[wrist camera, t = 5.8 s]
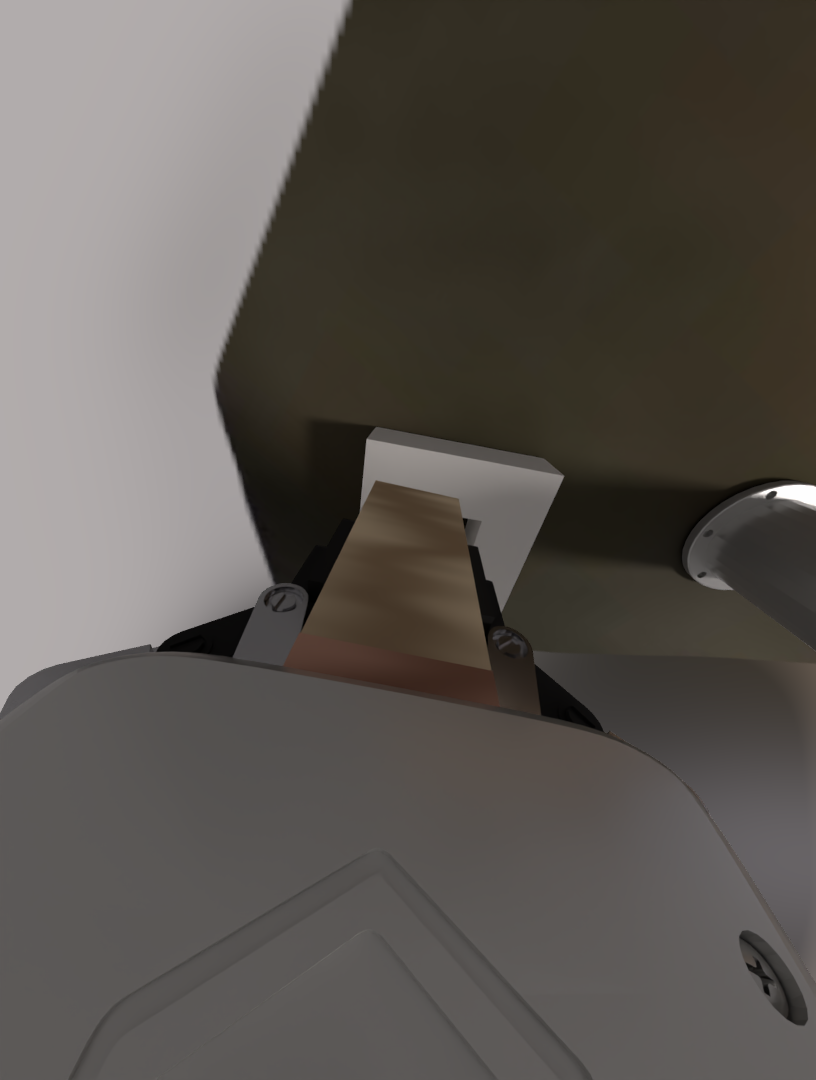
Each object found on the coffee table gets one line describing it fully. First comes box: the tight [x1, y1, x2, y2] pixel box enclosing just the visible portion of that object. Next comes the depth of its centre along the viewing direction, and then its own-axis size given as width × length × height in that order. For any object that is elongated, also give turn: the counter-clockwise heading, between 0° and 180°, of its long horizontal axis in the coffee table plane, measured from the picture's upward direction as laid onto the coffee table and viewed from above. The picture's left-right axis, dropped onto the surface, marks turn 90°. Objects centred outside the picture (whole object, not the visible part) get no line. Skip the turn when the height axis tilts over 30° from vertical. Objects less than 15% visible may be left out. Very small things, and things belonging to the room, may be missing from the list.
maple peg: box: [283, 480, 500, 707], centre depth 11 cm, size 4×4×10 cm
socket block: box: [360, 427, 564, 612], centre depth 30 cm, size 16×16×5 cm
